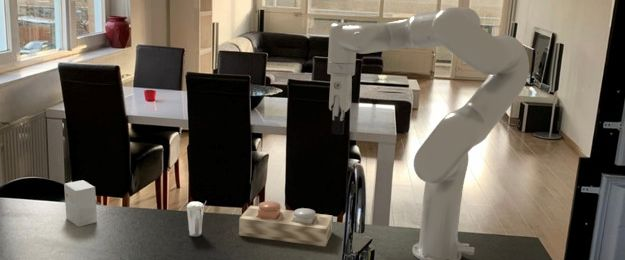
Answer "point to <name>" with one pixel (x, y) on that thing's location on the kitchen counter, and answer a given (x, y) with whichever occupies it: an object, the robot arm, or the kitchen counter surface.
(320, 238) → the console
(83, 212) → the small box
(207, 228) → the kitchen counter surface
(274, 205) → the terracotta button
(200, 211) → the milkshake
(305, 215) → the grey button
